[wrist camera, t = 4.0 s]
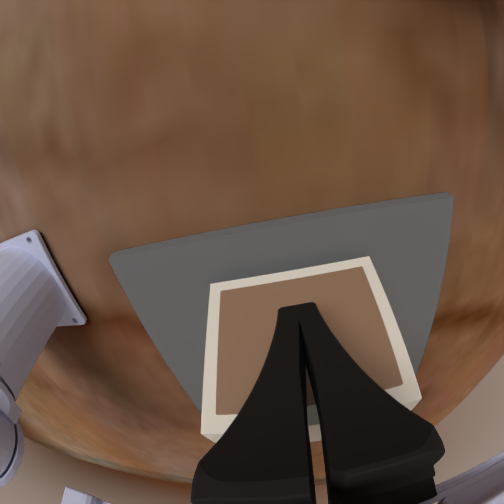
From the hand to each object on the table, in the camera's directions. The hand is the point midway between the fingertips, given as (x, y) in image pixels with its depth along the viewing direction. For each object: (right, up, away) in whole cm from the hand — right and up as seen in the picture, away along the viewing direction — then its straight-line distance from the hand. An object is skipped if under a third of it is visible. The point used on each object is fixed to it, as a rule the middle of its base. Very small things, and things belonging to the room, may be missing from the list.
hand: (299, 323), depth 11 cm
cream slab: (0, 0, +5) cm, 5 cm away
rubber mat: (+1, -3, +9) cm, 9 cm away
